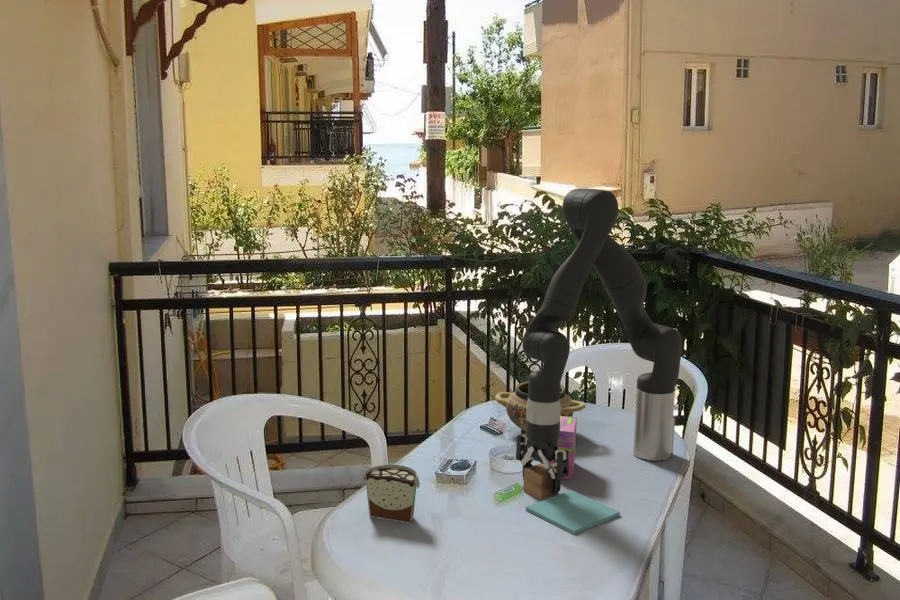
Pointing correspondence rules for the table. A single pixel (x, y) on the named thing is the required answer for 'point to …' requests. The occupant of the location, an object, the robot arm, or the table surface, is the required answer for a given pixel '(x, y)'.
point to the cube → (537, 481)
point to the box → (567, 440)
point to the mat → (572, 511)
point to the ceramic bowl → (518, 404)
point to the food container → (391, 492)
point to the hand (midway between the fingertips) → (540, 486)
